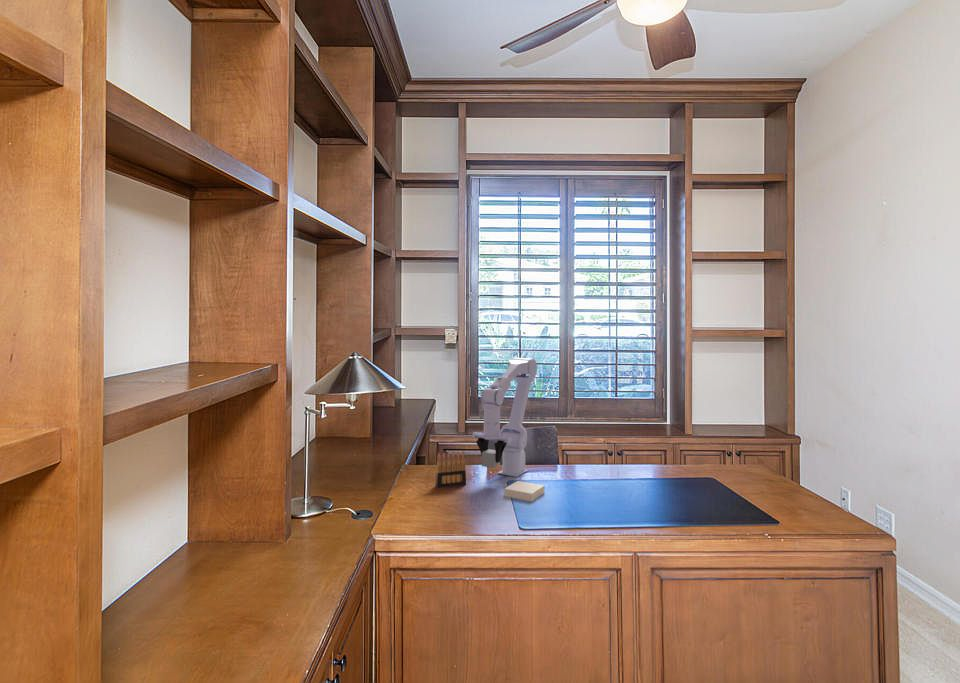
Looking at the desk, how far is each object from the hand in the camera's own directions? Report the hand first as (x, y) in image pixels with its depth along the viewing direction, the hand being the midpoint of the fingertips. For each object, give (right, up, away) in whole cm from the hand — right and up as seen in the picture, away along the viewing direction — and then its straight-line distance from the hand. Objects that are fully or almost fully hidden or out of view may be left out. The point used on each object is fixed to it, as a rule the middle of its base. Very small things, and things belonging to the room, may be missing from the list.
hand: (491, 460), depth 197 cm
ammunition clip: (-14, -8, -2) cm, 17 cm away
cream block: (+11, -9, -11) cm, 18 cm away
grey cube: (0, -2, 0) cm, 2 cm away
